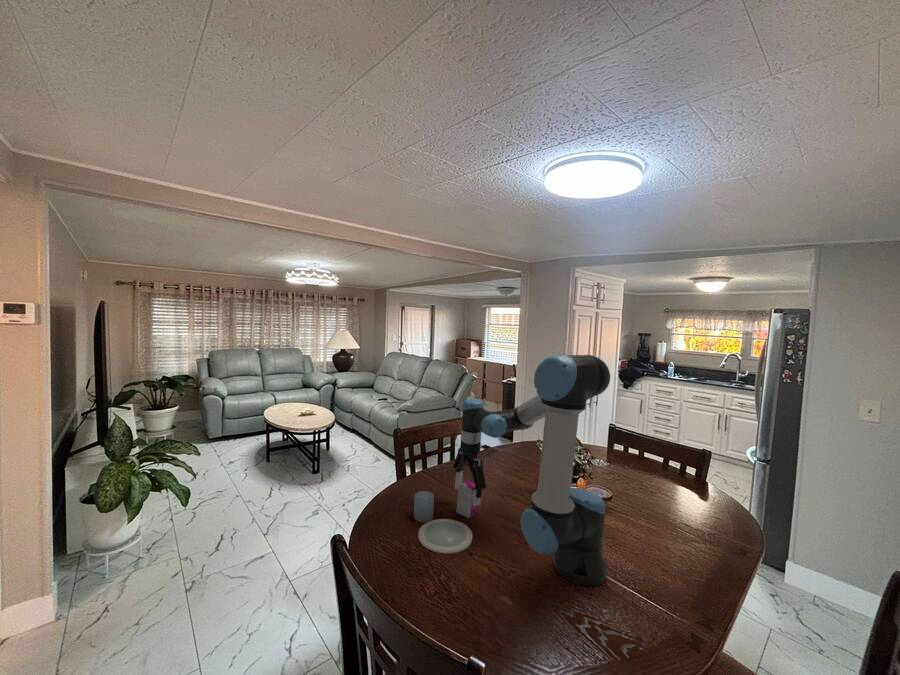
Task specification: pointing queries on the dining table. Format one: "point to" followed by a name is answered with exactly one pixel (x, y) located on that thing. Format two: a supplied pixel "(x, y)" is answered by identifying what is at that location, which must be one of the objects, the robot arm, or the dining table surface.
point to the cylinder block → (423, 506)
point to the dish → (445, 536)
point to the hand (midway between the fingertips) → (467, 496)
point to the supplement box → (466, 499)
